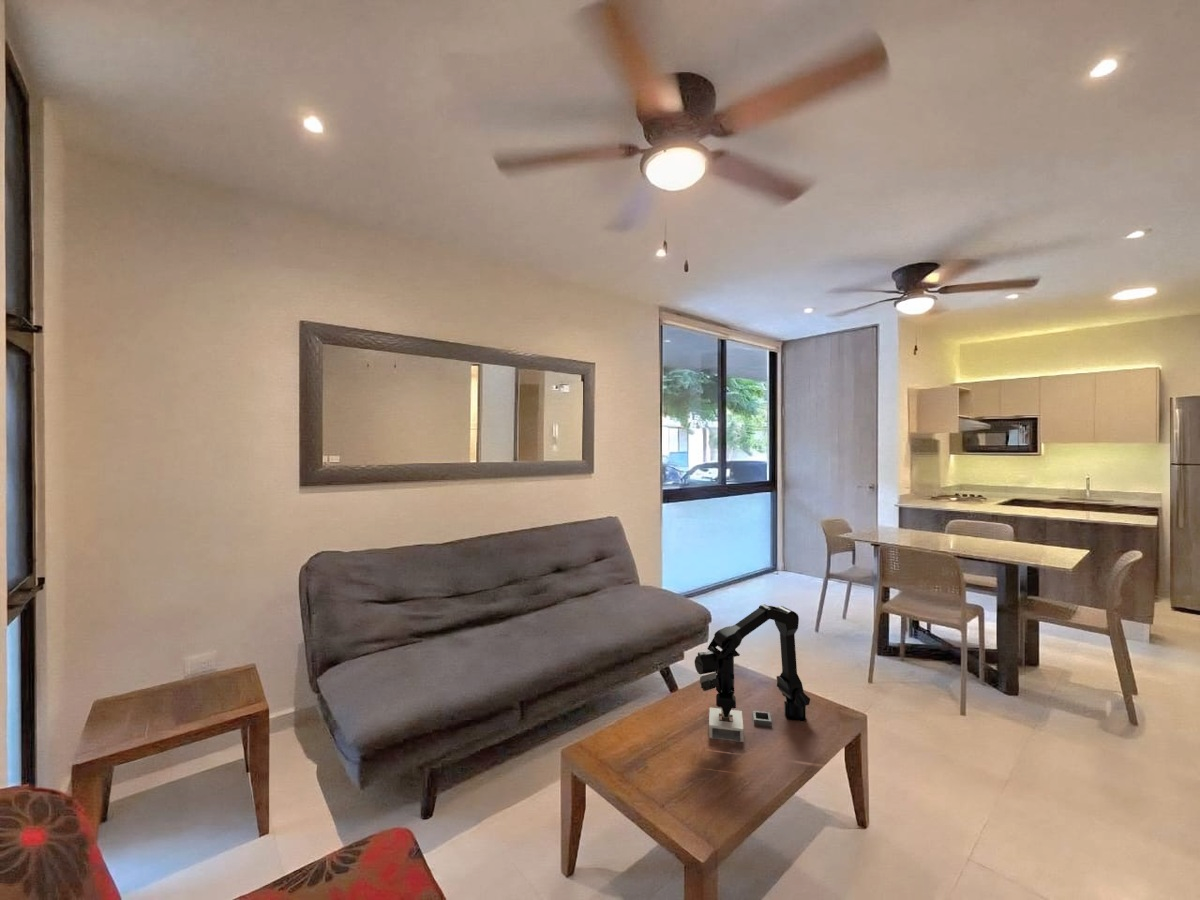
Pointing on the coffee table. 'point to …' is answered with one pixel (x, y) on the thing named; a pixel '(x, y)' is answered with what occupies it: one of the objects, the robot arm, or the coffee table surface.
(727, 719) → the beige rounded rod
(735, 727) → the breaker box
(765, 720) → the holder
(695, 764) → the coffee table surface
